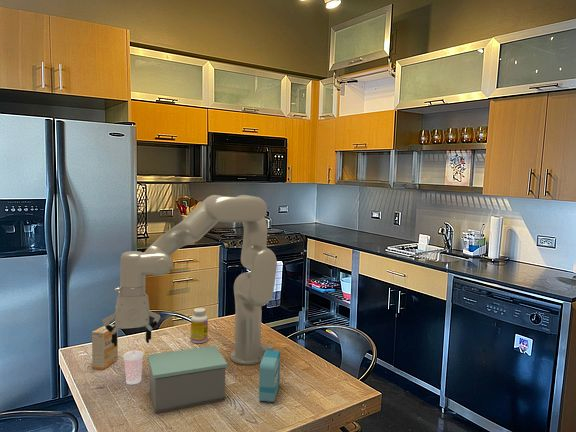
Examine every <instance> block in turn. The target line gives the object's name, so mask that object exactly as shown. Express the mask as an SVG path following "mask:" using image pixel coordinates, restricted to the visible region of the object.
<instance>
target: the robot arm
mask: <svg viewBox="0 0 576 432" xmlns="http://www.w3.org/2000/svg"><path fill="white" fill-rule="evenodd" d="M267 211H268V206H267V203H266V201H264V199H263V198H261V197H258V196H253V195H249V194H241V195H237V196H224V195H218V194H212V195H209V196H208V197H206V198H205V199H204V200H203V201H201V202H200V204H198V205H197V206H196V207H195V208H194V209H193V210H192V211H191V212H190V213H189V214H188V215H187V216H186V217H185V218H184V219H183V220H182V221H180V222H179V223H178V224H176V225H175V226H173V227H171V228H170V229H169V230H167V231H166V232H164V233H162V234H161V235H160V236H159V237H158V238H157V239H156V240H155V241H153V243H151V244H150V245H149V246H148V247H147V249H145V250H144V252H142V251H139V250H135V251H134V250H133V251H132V250H129V251H125V252H122V254H121V255H120V270H119V271H120V272H119V274H120V275H119V278H120V279H119V286H118V287H115V288H114V293H118V294H117V298H116V302H115V303H116V304H115V311H114V313H112V314H110V315H108V316H107V317H105V318H103V319H102V324H103V326H105V327H106V329H107V330H108V331H109V332H111V334H112V343H114V347H116V346H117V331H119V330H124V329H125V330H126V329H134V328H144V327H145V328H146V329H145V343H147V344H149V343H150V340H152V331H153V329H154V328H155V327H156V326H157V325H158V323H159V322H160V319H161V315H160V313H156V312H155V311H154V312H153V311H151V310H150V301H149V295H148V294H147V293H146V279H147V278H146V277H147V276H146V275H149V276H164V275H166V274H168V273H169V272H171V270H172V268H173V260H172V258H171V256H172V254H174V253H175V252H177V251H178V250H179V249H181V248H183V247H185V246H187V245H190V244H194V243H197V242H198V241H200V240H201V239H202V238H203V237H204V236H205V235H206V234H207V233H208V232H209V231H210V230H211V229H212V228H213V227H215V225H217V224H218V223H219V222H221V223H242V226H243V237H242V244H241V252H240V253H241V254H240V263H241V265H242V266H243V267H244V268H246V270H249V271H250V272H243V273H240V274H239V275H238V276H236V278H235V280H234V283H233V295H234V305H235V307H234V309H235V315H234V316H235V318H234V322H235V324H234V350H233V351H232V352H231V353H230V356H229V357H230V360H231V361H232V362H234V363H235V364H239V365H255V364H258V363H259V364H260V363H261V361H262V358H263V356H264V354H265V352H266V350H274V346H273V345H271V344H270V345H268V344H267V343H265V344H262V343H261V341H262V339H261V338H262V307H263V306H265V305H268V304H269V302H270V301H271V300H272V297H273V294H274V291H275V290H274V289H275V283H276V276H277V269H278V268H277V267H278V261H277V257H276V254H275V253H274V252H273V251H272V249H270V248H268V247H267V242H268V224H267V221H266V220H267V219H266V214H267ZM150 317H152V318H153V321H151V322H150ZM113 320H114V324H113V325H114V326H113V327H112V326H111V325H112V324H111V325H109V324H110V323H109V322H111V321H113Z"/></svg>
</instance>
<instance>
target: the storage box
mask: <svg viewBox="0 0 576 432" xmlns="http://www.w3.org/2000/svg"><path fill="white" fill-rule="evenodd" d="M149 394H150V398H151V401H152V406H153V410H154V413H155V414H161V413H165V412H166V413H167V412H171V411H176V410H181V409H187V408H191V407H197V406H202V405H207V404H211V403H218V402H222V401H223V402H224V401H225V400H226V367H225V368H219V369H212V370H206V371H200V372H194V373H188V374H181V375H175V376H169V377H163V378H156V379H153V376H152V372H151V369H150V368H149Z"/></svg>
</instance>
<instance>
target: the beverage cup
mask: <svg viewBox="0 0 576 432" xmlns="http://www.w3.org/2000/svg"><path fill="white" fill-rule="evenodd" d="M143 357H144V351H142V350H136V349H135V338H132V350H129V351H126V352H125V353H123V360H124V371H125V381H126V384H127V385H137V384H139V383H141V382H142V371H143V370H142V369H143Z"/></svg>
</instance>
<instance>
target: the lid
mask: <svg viewBox="0 0 576 432" xmlns="http://www.w3.org/2000/svg"><path fill="white" fill-rule="evenodd" d="M147 361H148V364H149V365H148V366H149V370H150V369H151V372H152V376H153V379H156V378H163V377H169V376H175V375H181V374H188V373H194V372H200V371H206V370H212V369H219V368H225V369H226V368H228V367H229V366H228V365H229V364H228V362H227V361H226V359H225V358H224V356H223V355H222V353H221V352H220V350H219V348H218V347H217V346H216V345H209V346H203V347H193V348H188V349H179V350H173V351H165V352H159V353H151V354H147Z"/></svg>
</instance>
